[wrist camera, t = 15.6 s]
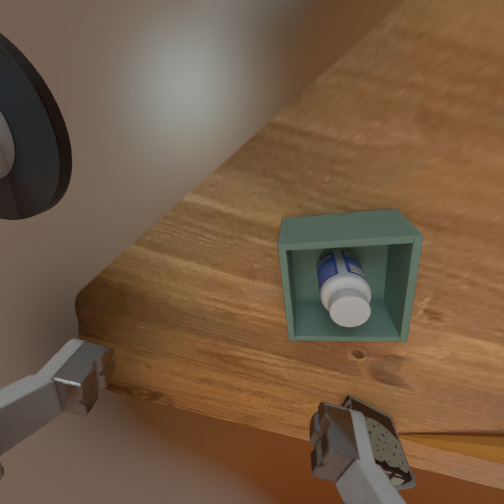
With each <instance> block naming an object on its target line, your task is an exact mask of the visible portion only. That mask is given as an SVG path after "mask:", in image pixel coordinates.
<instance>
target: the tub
mask: <svg viewBox="0 0 504 504" xmlns="http://www.w3.org/2000/svg"><path fill="white" fill-rule="evenodd" d="M422 242H423V234H422V233H421V232H420V231H419V230H418V229H417V228H416V227H415V226H414V225H413V224H412V223H411V222H410V221H409V220H408V219H407V218H406V217H405V216H404V215H403V214H402V213H401V212H400V211H399V210H398V209H385V210H373V211H361V212H350V213H338V214H326V215H315V216H303V217H291V218H282V223H281V229H280V235H279V241H278V251H279V259H280V268H281V276H282V285H283V294H284V302H285V311H286V319H287V328H288V337H289V341H352V342H407V339H408V333H409V326H410V320H411V313H412V307H413V300H414V294H415V287H416V281H417V274H418V268H419V261H420V255H421V248H422ZM334 248H343V249H347V250H349V251H351V252H352V253H354V254H355V255H356V257H357V258H358V260H359V262H360V265H361V267H362V269H363V272H364V274H365V276H366V279H367V281H368V284H369V286H370V289H371V300H370V302H369V305H370V308H371V313H370V316H369V318H368V320H367V321H366V322H364V323H363V324H361V325H359V326H356V327H344V326H340V325H338V324H337V323H335V322H334V321H333V320H332V318H331V317H330V313H329V311H328V310H327V309H326V308H325V307H324V306H323V304H322V302H321V298H320V291H319V283H318V276H317V262H318V260H319V258H320V256H321V255H322V254H323V253H325V252H326V251H328V250H330V249H334Z"/></svg>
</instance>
